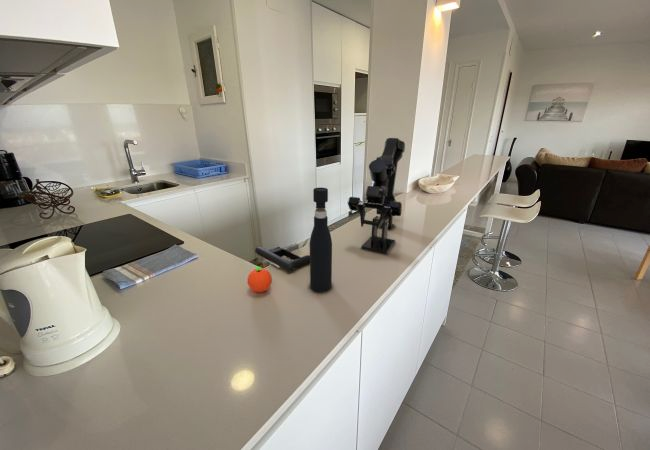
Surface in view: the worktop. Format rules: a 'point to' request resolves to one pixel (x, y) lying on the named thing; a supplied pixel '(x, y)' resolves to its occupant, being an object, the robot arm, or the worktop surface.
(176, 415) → the worktop surface
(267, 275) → the clementine
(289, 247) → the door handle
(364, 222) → the lever
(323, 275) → the black bottle
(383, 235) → the bracket
